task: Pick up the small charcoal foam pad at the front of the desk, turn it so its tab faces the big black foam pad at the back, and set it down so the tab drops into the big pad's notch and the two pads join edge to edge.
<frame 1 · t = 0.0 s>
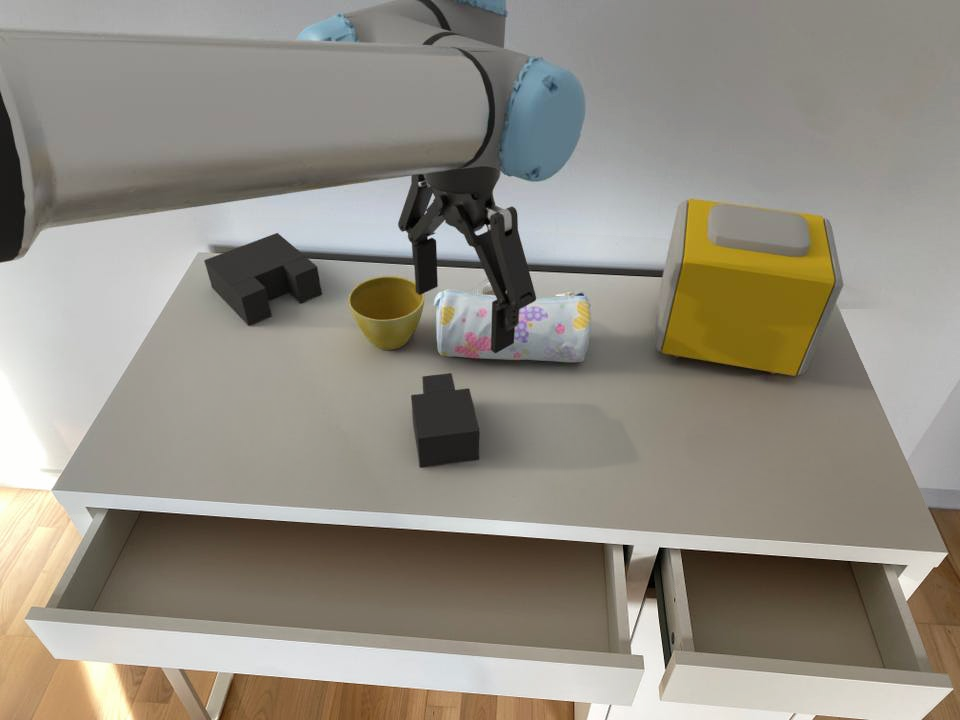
hand: (462, 317, 82), 14 cm above the table, tool pointing down, fingers open, 13 cm apart
tab pad: (445, 441, 86), on the table
pencil case: (511, 353, 98), on the table
flower pot: (390, 339, 100), on the table
notch pad: (266, 290, 108), on the table
alarm clock: (723, 340, 101), on the table
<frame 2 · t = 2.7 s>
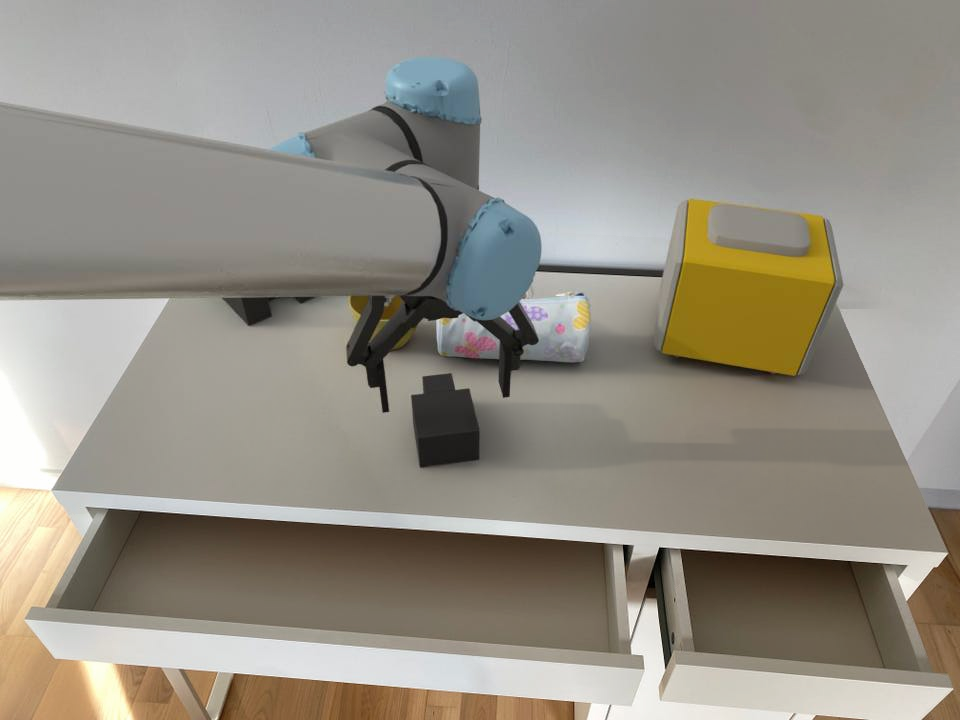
hand: (445, 396, 81), 7 cm above the table, tool pointing down, fingers open, 13 cm apart
nothing on the table moved.
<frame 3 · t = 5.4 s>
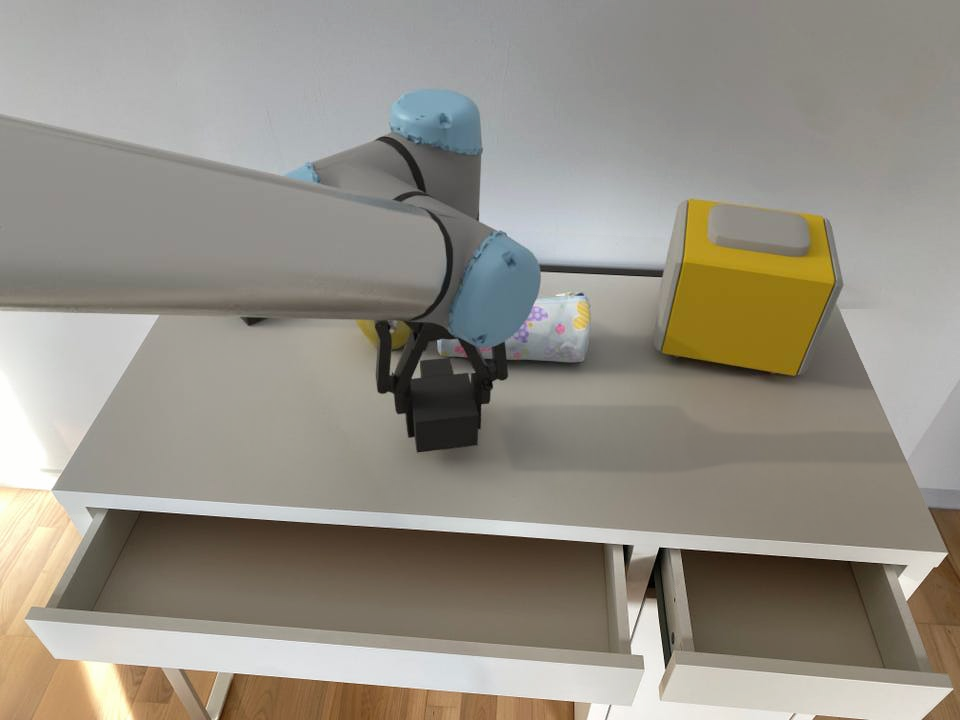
hand: (443, 424, 84), 3 cm above the table, tool pointing down, fingers closed on tab pad, 7 cm apart
tab pad: (443, 427, 84), point 3 cm above the table, touching gripper
everything else where it was.
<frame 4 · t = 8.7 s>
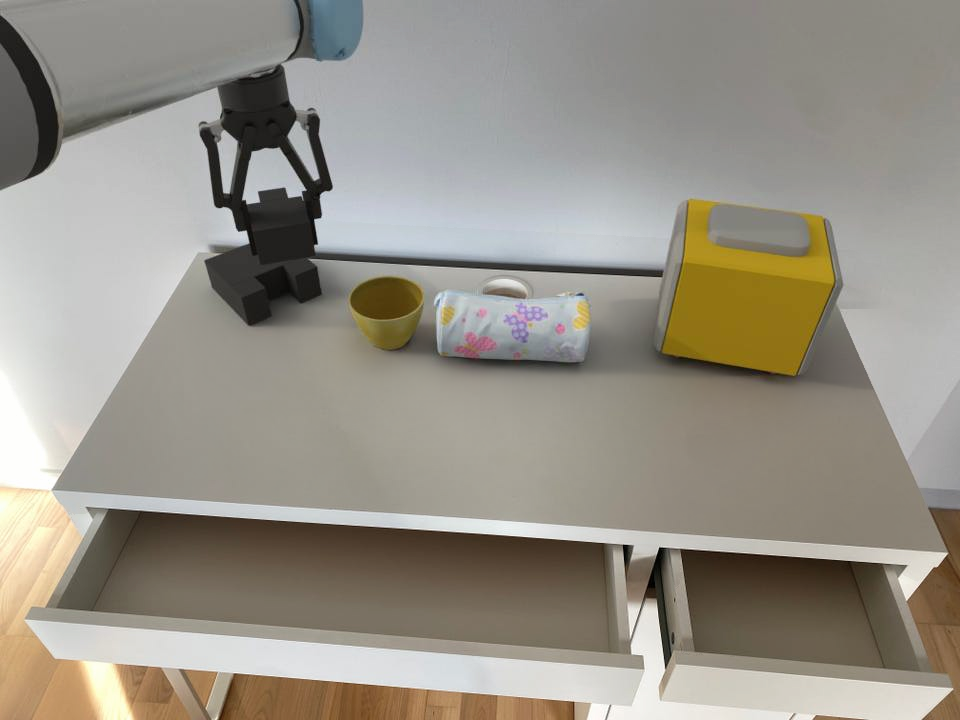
hand: (284, 244, 94), 13 cm above the table, tool pointing down, fingers closed on tab pad, 7 cm apart
tab pad: (284, 246, 94), point 13 cm above the table, touching gripper
everything else where it was.
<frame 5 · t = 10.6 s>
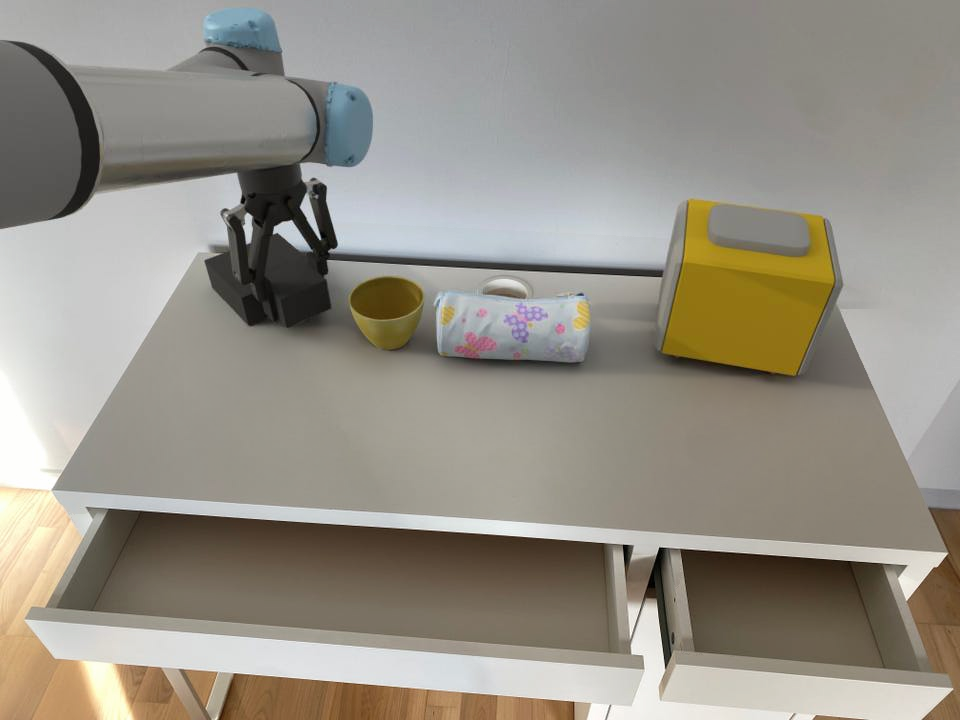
hand: (296, 305, 101), 3 cm above the table, tool pointing down, fingers closed on tab pad, 7 cm apart
tab pad: (296, 306, 101), point 3 cm above the table, touching gripper
everything else where it was.
when the fingers open (0 cm above the table, at t = 12.0 s): tab pad stays where it is, on the table.
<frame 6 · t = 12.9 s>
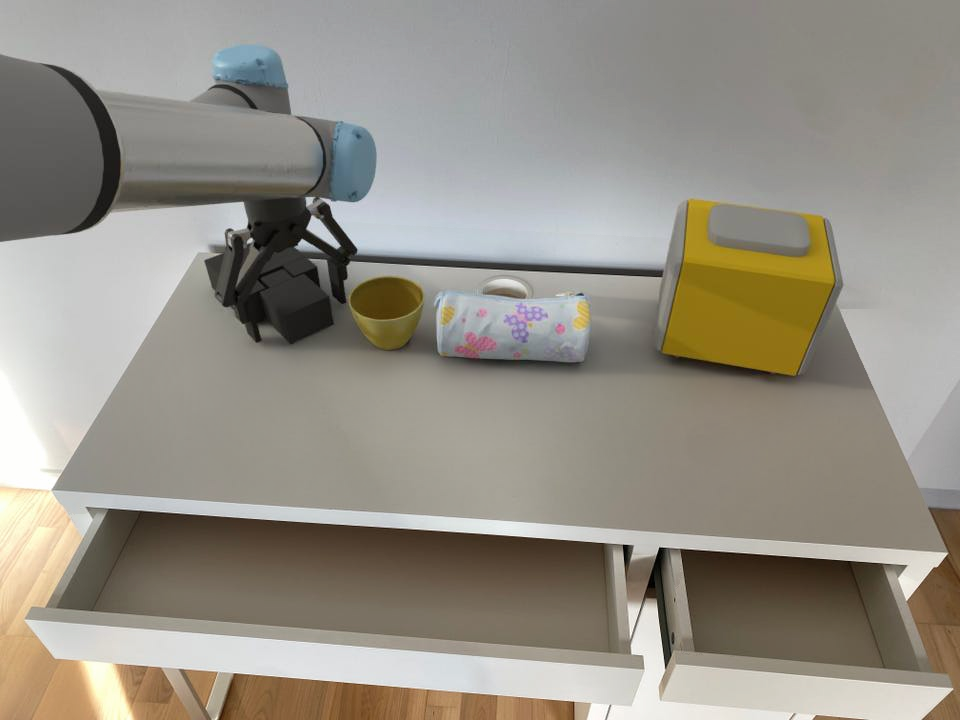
hand: (298, 318, 102), 1 cm above the table, tool pointing down, fingers open, 13 cm apart
tab pad: (300, 322, 103), on the table
everything else where it was.
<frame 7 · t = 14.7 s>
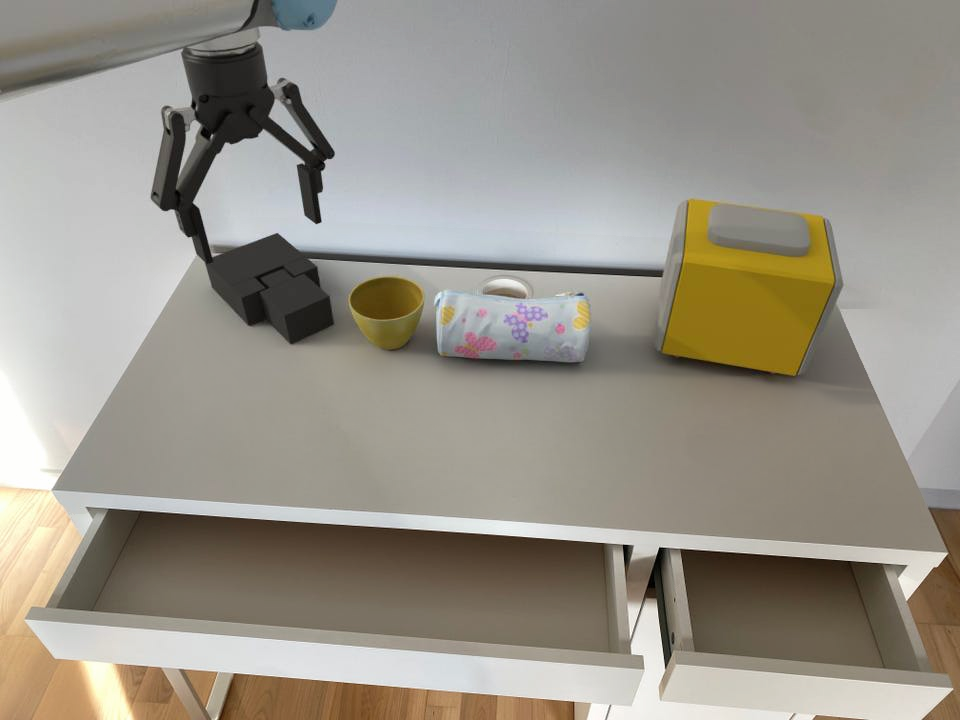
hand: (261, 238, 82), 20 cm above the table, tool pointing down, fingers open, 13 cm apart
nothing on the table moved.
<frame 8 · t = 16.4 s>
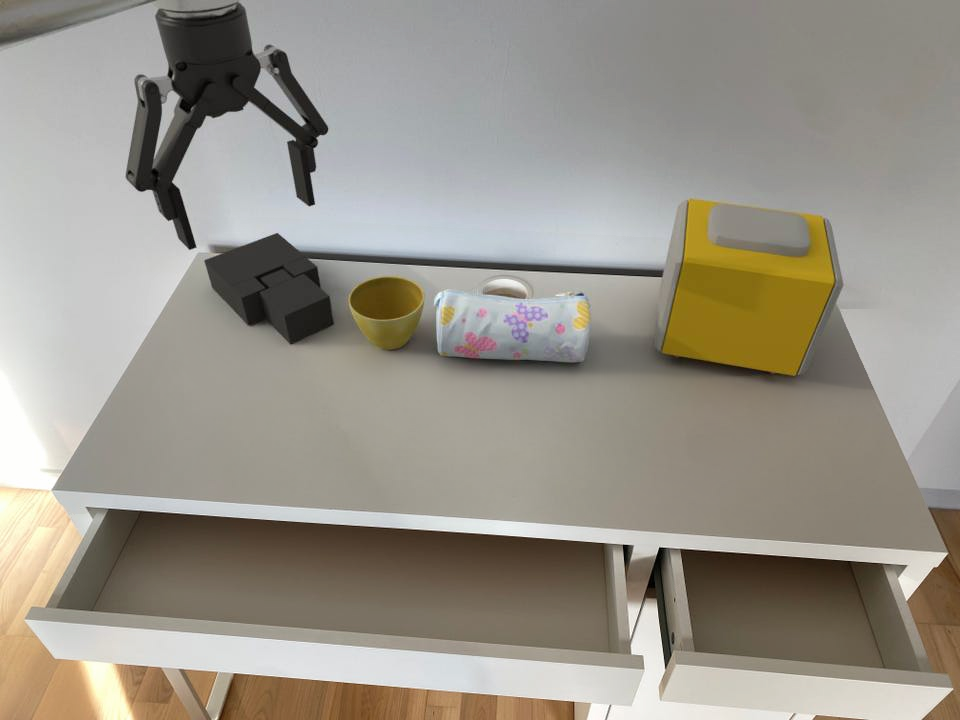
hand: (249, 221, 76), 25 cm above the table, tool pointing down, fingers open, 13 cm apart
nothing on the table moved.
at the end: tab pad 0.1 cm from the target spot on the table beside the notch pad, on the table; tab pad tilted 0°; the gripper is holding nothing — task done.
